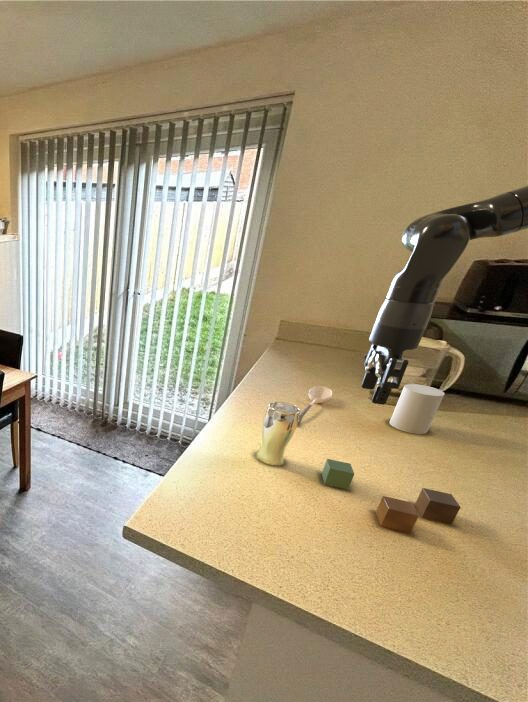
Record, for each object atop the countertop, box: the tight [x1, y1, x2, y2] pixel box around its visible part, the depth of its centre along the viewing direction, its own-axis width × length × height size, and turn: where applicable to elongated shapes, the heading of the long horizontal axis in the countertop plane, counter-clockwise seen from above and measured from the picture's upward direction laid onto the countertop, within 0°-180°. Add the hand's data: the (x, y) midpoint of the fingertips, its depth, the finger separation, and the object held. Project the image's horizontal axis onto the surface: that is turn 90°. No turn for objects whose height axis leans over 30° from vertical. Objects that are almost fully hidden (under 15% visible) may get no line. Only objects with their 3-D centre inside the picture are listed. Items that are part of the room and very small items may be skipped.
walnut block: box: [414, 487, 462, 525], centre depth 81 cm, size 4×4×4 cm
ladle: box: [297, 385, 333, 426], centre depth 125 cm, size 6×28×5 cm, turn 131°
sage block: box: [321, 458, 355, 491], centre depth 91 cm, size 4×4×4 cm
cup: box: [389, 383, 445, 435], centre depth 112 cm, size 8×8×12 cm
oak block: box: [375, 495, 419, 534], centre depth 79 cm, size 4×4×4 cm
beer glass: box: [256, 401, 301, 466], centre depth 98 cm, size 7×7×15 cm
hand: (372, 395), depth 85 cm, fingers open, 8 cm apart
